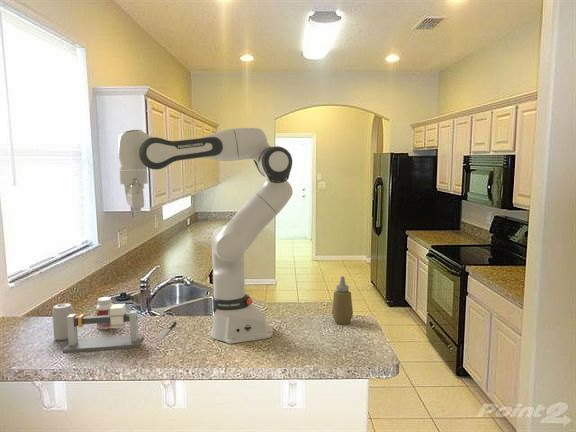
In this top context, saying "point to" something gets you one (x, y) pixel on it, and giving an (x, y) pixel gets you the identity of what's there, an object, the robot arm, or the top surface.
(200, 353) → the top surface
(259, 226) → the robot arm
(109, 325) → the pill bottle
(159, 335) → the chef's knife
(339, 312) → the squeeze bottle
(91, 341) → the grey slider rail base
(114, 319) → the cream sliding block
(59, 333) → the beverage can
